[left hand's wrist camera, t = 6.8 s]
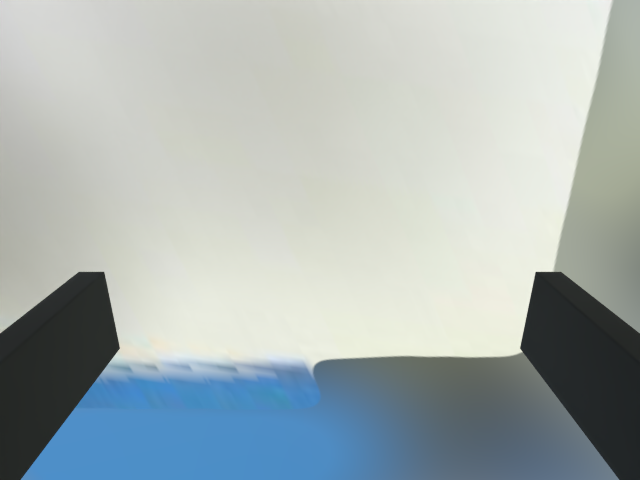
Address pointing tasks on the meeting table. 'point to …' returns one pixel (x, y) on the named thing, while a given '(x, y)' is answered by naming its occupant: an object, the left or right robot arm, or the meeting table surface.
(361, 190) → the meeting table surface
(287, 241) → the meeting table surface
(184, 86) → the meeting table surface
